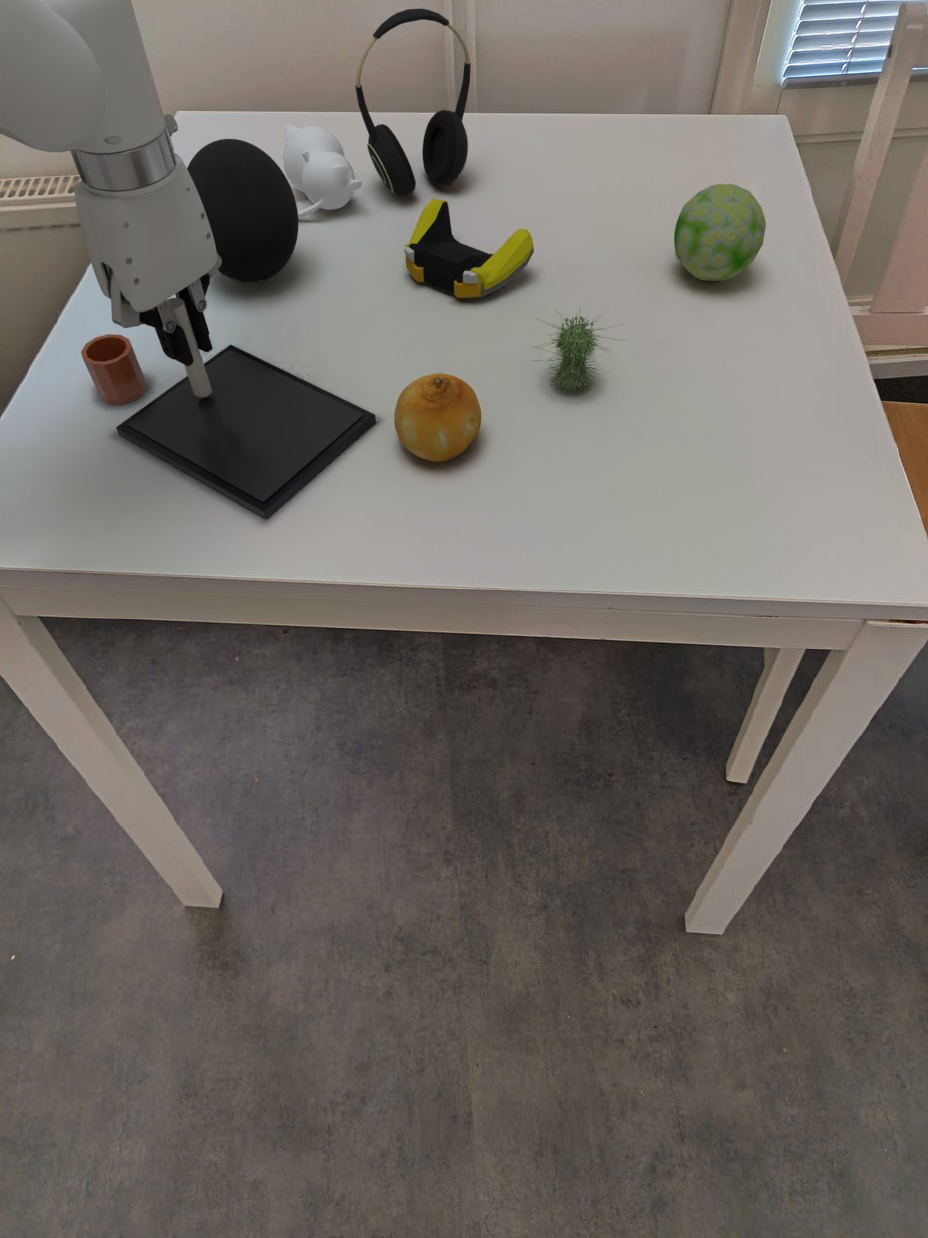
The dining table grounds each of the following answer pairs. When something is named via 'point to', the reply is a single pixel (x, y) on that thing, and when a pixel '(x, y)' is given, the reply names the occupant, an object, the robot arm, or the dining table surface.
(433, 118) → the headphones
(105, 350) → the pen cup
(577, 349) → the small spiny cactus
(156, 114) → the robot arm
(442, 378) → the fruit
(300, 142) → the cat figurine
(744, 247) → the decorative ball
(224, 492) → the tablet
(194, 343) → the stylus
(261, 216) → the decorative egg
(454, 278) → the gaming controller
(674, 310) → the dining table surface
